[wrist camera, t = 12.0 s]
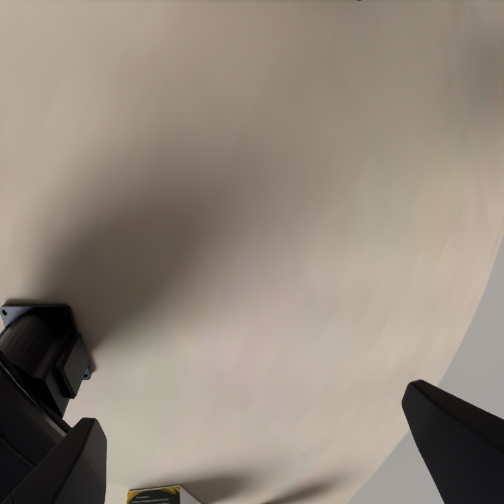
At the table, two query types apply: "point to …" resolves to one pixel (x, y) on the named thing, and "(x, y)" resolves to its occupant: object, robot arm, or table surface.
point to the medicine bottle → (161, 496)
